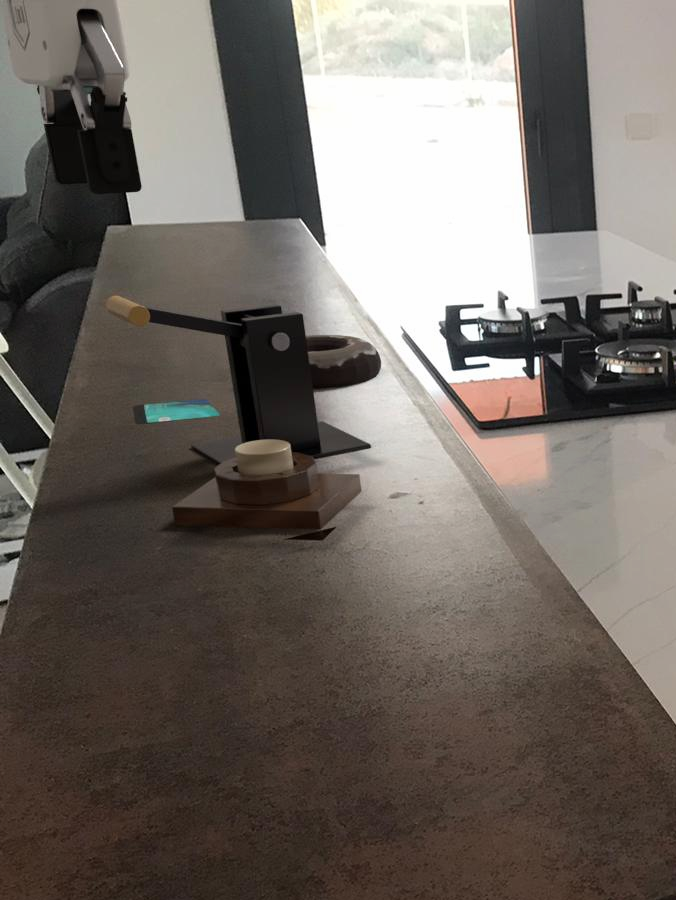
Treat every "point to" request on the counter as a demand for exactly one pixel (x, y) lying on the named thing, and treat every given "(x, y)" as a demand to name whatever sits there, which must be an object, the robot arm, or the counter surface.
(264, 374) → the switch bracket
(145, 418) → the smartphone
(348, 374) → the donut
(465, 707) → the counter surface
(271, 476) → the lamp base
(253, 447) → the button
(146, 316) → the switch lever
